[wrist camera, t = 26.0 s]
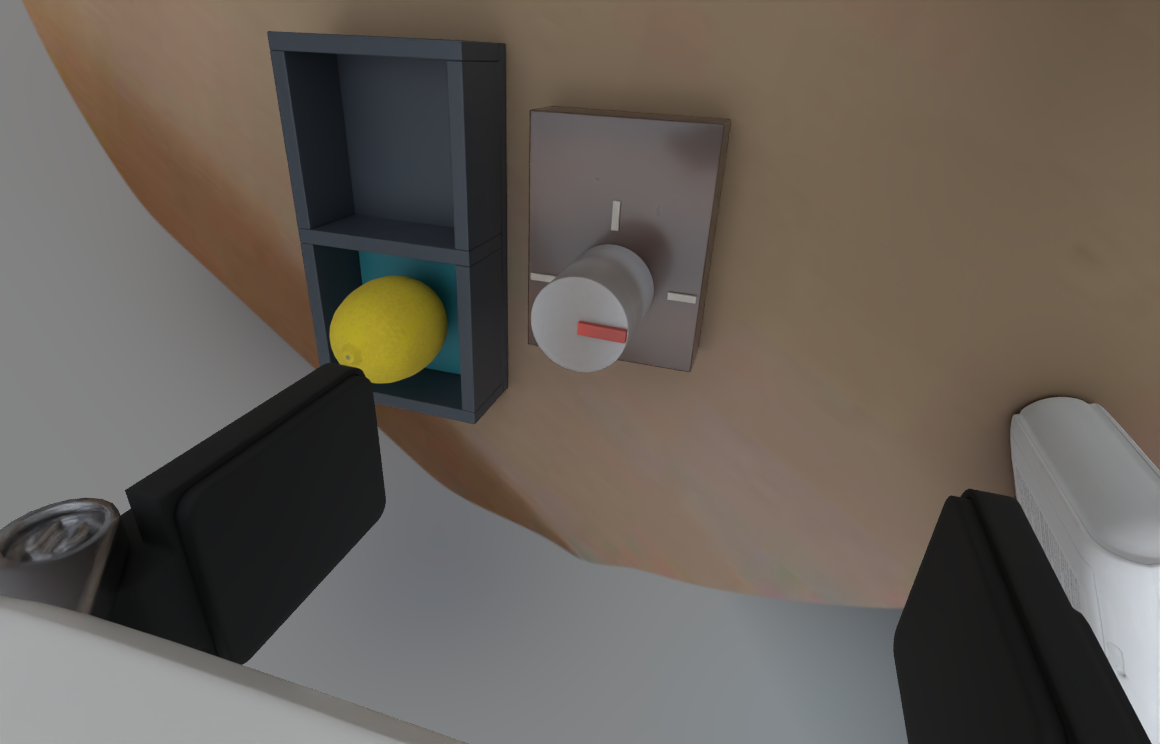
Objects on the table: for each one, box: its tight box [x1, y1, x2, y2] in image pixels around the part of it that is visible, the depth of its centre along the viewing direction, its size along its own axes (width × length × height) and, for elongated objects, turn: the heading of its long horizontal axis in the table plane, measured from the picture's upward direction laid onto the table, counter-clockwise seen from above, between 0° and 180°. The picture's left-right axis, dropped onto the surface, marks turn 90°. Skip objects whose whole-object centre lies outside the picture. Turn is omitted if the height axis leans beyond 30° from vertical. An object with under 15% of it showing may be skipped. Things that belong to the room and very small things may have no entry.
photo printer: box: [1010, 397, 1160, 744], centre depth 27 cm, size 10×4×12 cm, turn 21°
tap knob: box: [531, 244, 654, 372], centre depth 29 cm, size 4×4×6 cm
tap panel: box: [528, 106, 731, 372], centre depth 32 cm, size 12×9×3 cm
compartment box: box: [267, 31, 508, 424], centre depth 35 cm, size 19×10×5 cm, turn 178°
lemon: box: [329, 276, 448, 383], centre depth 34 cm, size 6×6×8 cm
